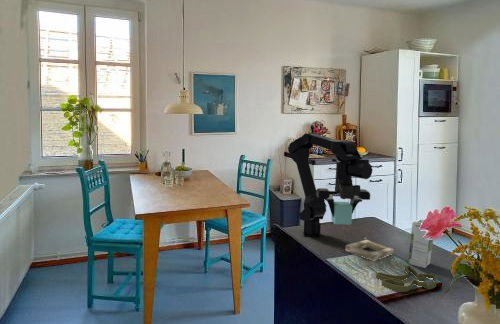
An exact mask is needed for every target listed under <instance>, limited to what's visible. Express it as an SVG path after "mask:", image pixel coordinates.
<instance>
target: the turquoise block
mask: <svg viewBox="0 0 500 324" xmlns="http://www.w3.org/2000/svg"><path fill="white" fill-rule="evenodd" d="M352 219H353V214H352V205H351V204H350V201H334V217H332V216H331V219H330V220H331V222H333V224H334V225H347V226H348V225H350V226H351V225H352Z"/></svg>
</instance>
